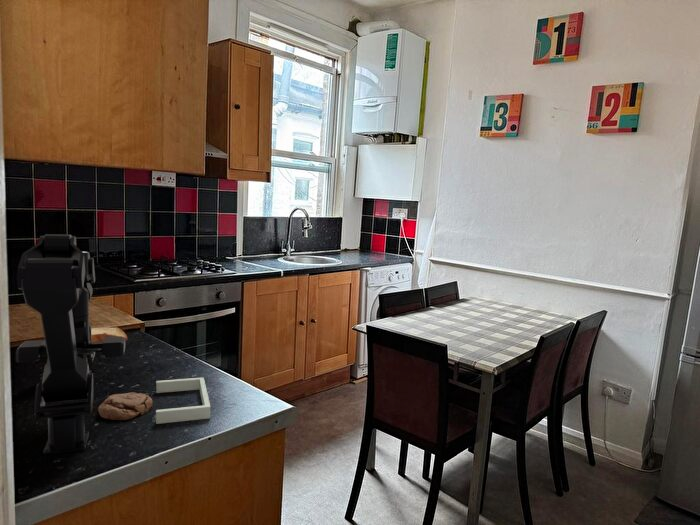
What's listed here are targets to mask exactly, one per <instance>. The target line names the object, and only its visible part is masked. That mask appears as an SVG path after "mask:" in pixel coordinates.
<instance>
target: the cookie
mask: <svg viewBox="0 0 700 525" xmlns="http://www.w3.org/2000/svg"><path fill="white" fill-rule="evenodd" d="M151 407H152V408H153V399H152V398H151V397H150V395H148V394H145V393H141V392H139V393H137V392H133V391H132V392H128V393H127V392H126V393H115V394H112V395H109V396H108V397H107V398H106V399H105V400H104V401H103V402H102V403H101V404H100V405H99V406H98V408H97V412H98V414H99V416H100V417H101V418H103V419H105V420H112V421H126V420H132V419H133V418H135V417H138V416H142V415H144V414H147V413H149V411H150V410H151V409H152V408H151ZM146 412H147V413H146Z"/></svg>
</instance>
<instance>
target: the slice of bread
mask: <svg viewBox="0 0 700 525" xmlns="http://www.w3.org/2000/svg"><path fill="white" fill-rule="evenodd" d="M91 336H92V339H91V341H89V343H97V342H103V340H104V338H105V337H118V336H122V337H123V338H124V339H125V342H127V341H128V338H129V337H128V335H127V334H126V333H125V331H123V330H122V329H121V328H119V327H107V326H105V327H91Z"/></svg>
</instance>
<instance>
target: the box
mask: <svg viewBox="0 0 700 525" xmlns="http://www.w3.org/2000/svg"><path fill="white" fill-rule="evenodd" d="M204 378H205V377H192V378H191V377H190V378H177V379H169V380H168V379H166V380H156V383H155V384H156V387H155V389H156V391H155V392H156V394H162V393H174V392H184V391H185V392H186V391H197V390H199V392H200V394H199V395H200V398H201V403H202V404H201V405H196V406H193V405H192V406H185V407H184V406H183V407H173V408H163V409H156V410H155V424H156V425H158V424H159V425H160V424H167V423H178V422H186V421H187V422H188V421H196V420H205V419H207V420H208V419H211V402H210V398H209V394H208V390H207V386H206V382H205V379H204Z"/></svg>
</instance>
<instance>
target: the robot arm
mask: <svg viewBox="0 0 700 525" xmlns="http://www.w3.org/2000/svg"><path fill="white" fill-rule="evenodd" d="M95 282H96V271H95V259H94V257H91V254H90V252H88V251H82V250H81V249H80V248H79V247H78V246H77V238H76V236H75V235H72V234H60V233H59V234H56V233H55V234H53V233H52V234H51V233H50V234H49V233H45V234H44V235H40V236H39V239H38V242H37V243H36V244H35V245H33V246H31V247H30V248H29V249H27V250H25V251H23V253H22V254H21V257H20V260H19V263H18V266H17V270H16V285H17V288H18V290H20V291H22V294H23V298H24V302H25V304H26V305H28V307H30V308H31V309H33V310H35V311H36V312H38V313H39V315H40V318H41V319H40V320H41V326H42V329H43V330H42V332H43V337H44V339H39V340H38V339H36V340H24V341H23V342H22V343H21V344H20V345H19V347H17V349H16V350H15V363H18V364H20V363H23V364H24V363H35V362H36V361H37V360H38V359H39V358H40V356H47V358H46V363H45V365H44V369H43V373H42V374H43V375H42V376H41V377H40V378H39V381H38V383H37V384H36V386H35V392H34V393H35V395H34V405H33V406H34V413H33V414H34V417H36V420H37V421H39V420H44V419H45V420H46V419H47V427H48V428H47V431H48V432H47V436H48V439H47V441H46V443H45V446H44V448H43V451H42V454H43V455H52V454H60V453H61V454H62V453H69V452H79V451H84V450H85V449H86V447H87V442H88V440H89V437H90V431H89V430H88V431H86V430H85V428H86V427H85V425H86V424H85V420H86V419H85V415H92V412H93V407H94V373H93V372H90V367H89V363H92V362H94V358H95V356H96V353H100V352H101V355H102V356H104V357H105V358H119V357H123V356H125V350H126V341H125V339H124V338H123V337H122V336H118V337H105V338H104V340H103V342H97V343H89V341H91V339H92V336H91V328H92V324H91V323H90V309H89V308H90V307H89V306H90V305H89V304H90V300H91V298H92V296H93V291H94V290H93V287H92V284H95ZM79 400H87V401H79ZM69 401H77V402H69ZM60 402H67V403H60ZM48 403H58V404H49V405H46V404H48Z"/></svg>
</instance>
